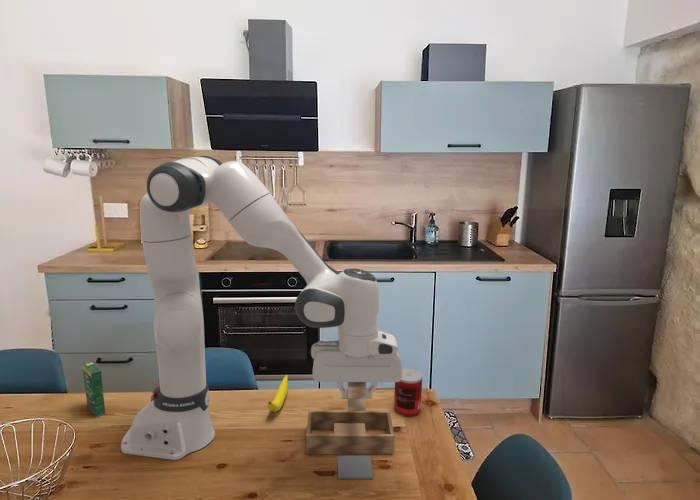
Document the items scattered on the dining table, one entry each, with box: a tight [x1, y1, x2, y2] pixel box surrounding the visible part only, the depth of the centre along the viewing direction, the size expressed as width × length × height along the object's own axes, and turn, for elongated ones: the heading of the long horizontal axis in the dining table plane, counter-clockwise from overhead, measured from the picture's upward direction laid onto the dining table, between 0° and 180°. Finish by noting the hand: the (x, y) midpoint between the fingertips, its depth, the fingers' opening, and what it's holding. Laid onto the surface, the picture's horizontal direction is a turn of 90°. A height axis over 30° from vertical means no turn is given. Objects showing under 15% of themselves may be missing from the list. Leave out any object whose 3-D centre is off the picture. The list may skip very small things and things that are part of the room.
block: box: [347, 382, 367, 411], centre depth 114 cm, size 4×4×6 cm
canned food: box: [393, 368, 423, 417], centre depth 143 cm, size 8×8×11 cm
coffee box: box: [81, 361, 106, 418], centre depth 139 cm, size 8×3×13 cm, turn 43°
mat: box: [337, 455, 374, 480], centre depth 118 cm, size 8×8×1 cm
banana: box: [267, 374, 289, 412], centre depth 144 cm, size 3×19×6 cm, turn 173°
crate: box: [305, 410, 395, 455], centre depth 129 cm, size 22×12×5 cm, turn 92°
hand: (356, 397), depth 114 cm, fingers closed on block, 4 cm apart
